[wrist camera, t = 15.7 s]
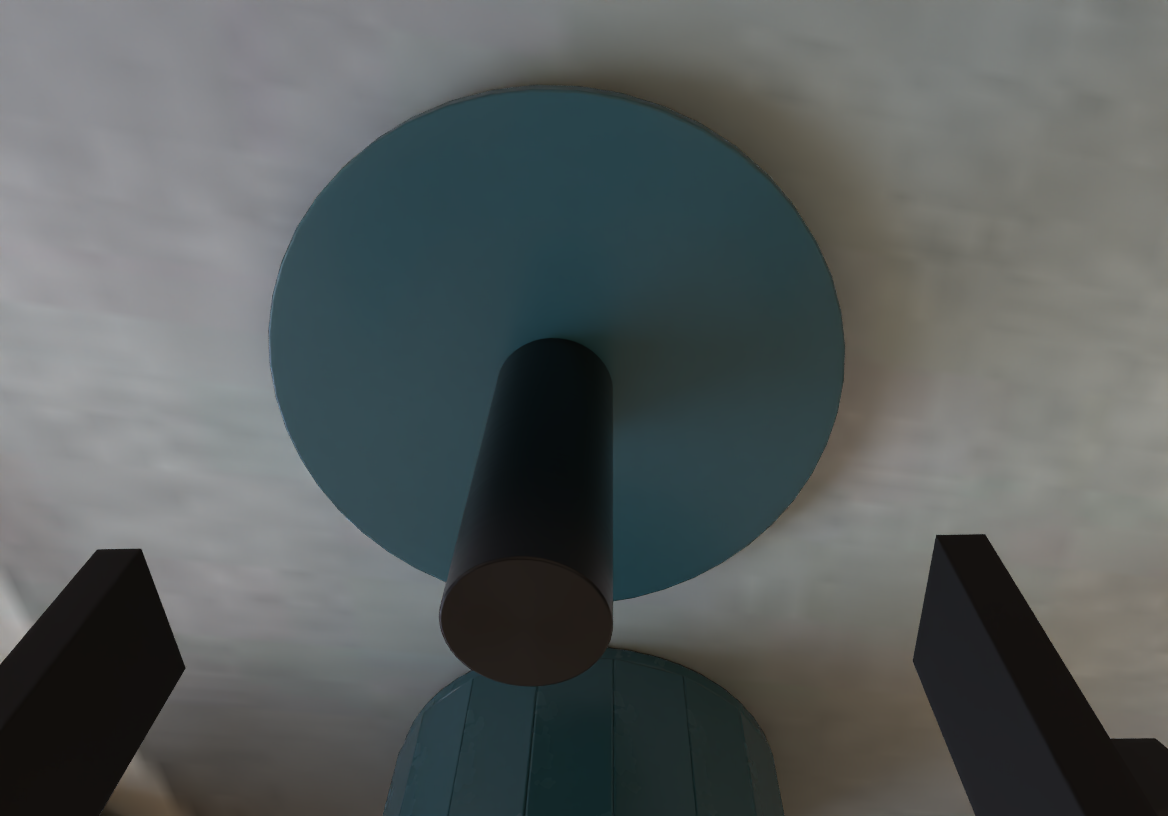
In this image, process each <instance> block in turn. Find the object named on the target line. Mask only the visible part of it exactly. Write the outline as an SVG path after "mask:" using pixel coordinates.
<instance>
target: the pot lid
mask: <svg viewBox="0 0 1168 816" xmlns="http://www.w3.org/2000/svg"><path fill="white" fill-rule="evenodd" d="M269 358H270V368H271V374H272V379H273V385H274V390H275V396H276V400H277V403H278V406H279V409H280V412H281V415H282V418H283V421H284V424H285V427H286V430H287V432H288V434H289V436H290V438H291V440H292V442H293V444H294V446H295V448H296V450H297V452H298V454H299V456H300V458H301V460H302V461H303V463H304V465H305V466H306V468H307V469H308V471H309V472H310V474H311V475H312V477H313V478H314V480H315V481H316V483H317V484H318V486H319V487H320V488H321V489H322V491H323V492H324V493H325V494H326V495H327V497H328V498H329V499H330V500H331V501H332V503H333V504H334V505H335V506H336V507H337V509H338V510H339V511H340V512H341V513H342V514H343V515H345V516H346V517H347V518H348V519H349V520H350V521H351V522H352V523H353V524H354V525H355V526H356V527H357V528H358V529H359V530H360V531H361V532H363V533H364V534H365V535H367V536H368V537H369V538H371V539H372V540H373V541H375V542H376V543H377V544H378V545H380V546H381V547H382V548H384V549H385V550H386V551H388V552H389V553H391V554H393V555H394V556H396V557H398V558H399V559H401V560H403V561H404V562H406V563H408V564H409V565H411V566H413V567H414V568H416V569H418V570H421V571H423V572H425V573H427V574H429V575H431V576H433V577H436V578H438V579H440V580H442V581H444V582H446V586H445V589H444V593H443V597H442V601H441V605H440V612H439V621H440V628H441V631H442V635H443V637H444V639H445V642H446V644H447V645H448V647H449V648H450V650H451V651H452V652H453V654H454V655H455V656H456V657H457V658H458V659H459V660H460V661H461V662H462V663H463V664H464V665H466V666H467V667H469V668H470V669H471V670H473V671H475V672H476V673H478V674H480V675H482V676H484V677H487V678H489V679H491V680H494V681H497V682H500V683H505V684H509V685H516V686H529V687H534V686H546V685H553V684H557V683H561V682H564V681H567V680H569V679H572V678H574V677H576V676H578V675H580V674H582V673H583V672H585V671H586V670H588V669H589V668H591V667H592V666H593V665H594V664H595V663H596V662H597V661H598V660H599V659H600V657H601V656H602V655H603V653H604V652H605V650H606V648H607V647H608V644H609V642H610V639H611V635H612V631H613V601H618V600H623V599H629V598H635V597H638V596H642V595H646V594H649V593H653V592H656V591H660V590H664V589H667V588H669V587H672V586H674V585H677V584H679V583H682V582H684V581H687V580H689V579H692V578H694V577H696V576H698V575H700V574H702V573H704V572H706V571H708V570H710V569H711V568H713V567H715V566H717V565H719V564H721V563H723V562H724V561H726V560H727V559H729V558H730V557H732V556H733V555H734V554H736V553H737V552H739V551H740V550H742V549H743V548H745V547H746V546H748V545H749V544H750V543H751V542H752V541H754V540H755V539H756V538H757V537H758V536H759V535H760V534H762V533H763V532H764V531H765V530H766V529H767V528H769V527H770V526H771V525H772V524H773V523H774V522H775V521H776V520H777V518H778V517H779V516H780V515H781V514H782V513H783V512H784V511H785V510H786V508H787V507H788V506H789V505H790V504H791V503H792V502H793V501H794V499H795V498H796V496H797V495H798V493H799V492H800V491H801V489H802V488H803V486H804V485H805V483H806V482H807V480H808V479H809V477H810V476H811V475H812V473H813V471H814V469H815V467H816V465H817V463H818V461H819V459H820V457H821V455H822V453H823V451H824V449H825V447H826V445H827V442H828V439H829V437H830V434H831V431H832V428H833V425H834V422H835V419H836V416H837V413H838V408H839V403H840V397H841V392H842V387H843V381H844V359H845V342H844V333H843V324H842V315H841V309H840V305H839V302H838V298H837V294H836V290H835V287H834V283H833V279H832V276H831V273H830V271H829V269H828V267H827V264H826V262H825V260H824V257H823V255H822V253H821V251H820V248H819V246H818V244H817V242H816V240H815V238H814V237H813V235H812V234H811V232H810V230H809V229H808V227H807V226H806V224H805V223H804V221H803V219H802V218H801V216H800V215H799V213H798V211H797V210H796V208H795V207H794V205H793V204H792V202H791V201H790V200H789V199H788V198H787V196H786V195H785V194H784V193H783V192H782V191H781V189H780V188H779V187H778V186H777V185H776V184H775V182H774V181H773V180H772V179H771V178H770V177H769V175H768V174H767V173H766V172H765V171H764V170H762V169H761V168H760V167H759V166H758V165H757V164H756V163H754V162H753V161H752V160H751V159H750V158H749V157H748V156H746V155H745V154H744V153H743V152H742V151H741V150H740V149H738V148H737V147H736V146H735V145H733V144H732V143H730V142H728V141H727V140H725V139H724V138H722V137H721V136H719V135H718V134H716V133H715V132H713V131H712V130H710V129H709V128H707V127H705V126H704V125H702V124H701V123H699V122H696V121H694V120H692V119H690V118H688V117H686V116H684V115H681V114H679V113H677V112H675V111H673V110H671V109H669V108H666V107H664V106H662V105H659V104H655V103H652V102H649V101H646V100H642V99H639V98H636V97H633V96H630V95H626V94H623V93H618V92H612V91H606V90H600V89H594V88H588V87H581V86H557V85H531V86H522V87H513V88H505V89H496V90H490V91H486V92H482V93H479V94H475V95H471V96H467V97H463V98H459V99H456V100H452V101H449V102H447V103H444V104H442V105H440V106H437V107H435V108H433V109H430V110H428V111H425V112H423V113H421V114H418V115H416V116H414V117H412V118H410V119H408V120H407V121H405V122H403V123H402V124H400V125H398V126H397V127H395V128H394V129H392V130H390V131H389V132H387V133H385V134H384V135H382V136H380V137H379V138H377V139H376V140H375V141H374V142H373V143H371V144H370V145H369V146H368V147H366V148H365V149H364V150H363V151H362V152H360V153H359V154H358V155H357V156H356V157H354V158H353V159H352V160H351V161H350V162H348V163H347V164H346V165H345V166H344V167H343V168H342V169H341V170H340V171H339V172H338V173H337V175H336V176H335V177H334V178H333V179H332V180H331V181H330V182H329V184H328V185H327V186H326V187H325V188H324V189H323V190H322V191H321V193H320V194H319V195H318V196H317V197H316V199H315V200H314V202H313V203H312V205H311V206H310V208H309V210H308V211H307V213H306V214H305V216H304V217H303V219H302V220H301V222H300V223H299V225H298V227H297V228H296V230H295V233H294V235H293V237H292V239H291V241H290V244H289V246H288V248H287V250H286V253H285V255H284V257H283V259H282V262H281V266H280V269H279V273H278V277H277V280H276V284H275V288H274V291H273V295H272V303H271V312H270V321H269Z"/></svg>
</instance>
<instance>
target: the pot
mask: <svg viewBox="0 0 1168 816" xmlns="http://www.w3.org/2000/svg"><path fill="white" fill-rule="evenodd" d="M383 816H784V812H783V806H782V801H781V796H780V791H779V786H778V780H777V775H776V770H775V765H774V760H773V754H772V752H771V749H770V747H769V744H768V742H767V740H766V737H765V735H764V733H763V731H762V730H761V728H760V727H759V725H758V724H757V722H756V720H755V719H754V717H753V716H752V715H751V714H750V713H749V712H748V711H747V710H746V708H745V707H744V706H743V705H742V704H741V703H740V702H739V701H738V700H737V699H735V698H734V697H733V696H732V695H731V694H729V693H728V692H727V691H726V690H725V689H723V688H722V687H720V686H719V685H717V684H716V683H714V682H712V681H711V680H709V679H708V678H706V677H704V676H703V675H701V674H698V673H696V672H694V671H692V670H690V669H688V668H686V667H684V666H681V665H679V664H676V663H673V662H670V661H667V660H664V659H661V658H658V657H655V656H651V655H646V654H642V653H638V652H634V651H628V650H620V649H613V648H606V650H605V652H604V653H603V655H602V656H601V657H600V659H599V660H598V661H597V662H596V663H595V664H594V665H593V666H592V667H591V668H589V669H588V670H586V671H585V672H583V673H582V674H580V675H578V676H576V677H574V678H572V679H569V680H567V681H564V682H561V683H557V684H553V685H546V686H534V687H529V686H516V685H509V684H505V683H500V682H497V681H494V680H491V679H489V678H487V677H484V676H482V675H480V674H478V673H476V672H475V671H473V670H472V671H471V672H469V673H467V674H465V675H463V676H461V677H459V678H458V679H456V680H455V681H453V682H452V683H451V684H449V685H448V686H446V687H445V688H444V689H442V690H441V691H440V692H439V693H438V694H437V695H436V696H435V697H433V698H432V699H431V700H430V701H429V702H428V703H427V704H426V705H425V707H424V708H423V709H422V711H421V712H420V713H419V715H418V716H417V717H416V719H415V720H414V722H413V724H412V726H411V728H410V730H409V732H408V734H407V736H406V740H405V743H404V745H403V747H402V749H401V750H400V752H399V754H398V758H397V762H396V766H395V770H394V774H393V777H392V781H391V785H390V789H389V793H388V797H387V801H386V805H385V809H384V812H383Z"/></svg>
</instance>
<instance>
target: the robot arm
mask: <svg viewBox="0 0 1168 816" xmlns="http://www.w3.org/2000/svg"><path fill="white" fill-rule="evenodd" d="M913 663H914V666H915V668H916V670H917V673H918V675H919V678H920V680H921V683H922V685H923V688H924V690H925V693H926V695H927V698H928V700H929V703H930V705H931V707H932V710H933V712H934V715H935V717H936V720H937V722H938V725H939V727H940V730H941V732H942V735H943V737H944V739H945V742H946V744H947V747H948V749H949V752H950V754H951V757H952V759H953V762H954V764H955V767H956V769H957V771H958V774H959V776H960V779H961V781H962V784H963V786H964V789H965V791H966V794H967V796H968V799H969V801H970V803H971V806H972V808H973V811H974V813H975V816H1168V749H1167V748H1166V747H1165V746H1164V745H1163V744H1161V743H1160V742H1159V741H1158V740H1157V739H1155V738H1142V739H1110V737H1109V736H1108V734H1107V733H1106V731H1105V729H1104V728H1103V726H1102V724H1101V723H1100V721H1099V719H1098V718H1097V716H1096V715H1095V713H1094V711H1093V710H1092V708H1091V706H1090V705H1089V703H1088V702H1087V700H1086V698H1085V697H1084V695H1083V693H1082V692H1081V690H1080V688H1079V687H1078V685H1077V684H1076V682H1075V680H1074V679H1073V677H1072V675H1071V674H1070V672H1069V670H1068V669H1067V667H1066V666H1065V664H1064V662H1063V661H1062V659H1061V657H1060V656H1059V654H1058V653H1057V651H1056V649H1055V648H1054V646H1053V644H1052V643H1051V641H1050V639H1049V638H1048V636H1047V635H1046V633H1045V631H1044V630H1043V628H1042V626H1041V625H1040V623H1039V621H1038V620H1037V618H1036V617H1035V615H1034V613H1033V612H1032V610H1031V608H1030V607H1029V605H1028V604H1027V602H1026V600H1025V599H1024V597H1023V595H1022V594H1021V592H1020V590H1019V589H1018V587H1017V586H1016V584H1015V582H1014V581H1013V579H1012V577H1011V576H1010V574H1009V572H1008V571H1007V569H1006V568H1005V566H1004V564H1003V563H1002V561H1001V559H1000V558H999V556H998V555H997V553H996V551H995V550H994V548H993V546H992V545H991V543H990V541H989V540H988V538H987V537H986V535H985V534H972V535H936V539H935V545H934V550H933V555H932V561H931V566H930V571H929V577H928V582H927V587H926V593H925V598H924V603H923V609H922V614H921V619H920V625H919V630H918V635H917V641H916V646H915V651H914V657H913ZM184 670H185V665H184V662H183V660H182V657H181V654H180V652H179V649H178V646H177V644H176V641H175V638H174V636H173V633H172V630H171V627H170V625H169V622H168V619H167V617H166V614H165V611H164V609H163V606H162V603H161V601H160V598H159V595H158V592H157V590H156V587H155V584H154V582H153V579H152V576H151V574H150V571H149V568H148V566H147V563H146V560H145V558H144V555H143V552H142V549H98V550H96V552H95V553H94V554H93V555H92V556H91V557H90V559H89V560H88V561H87V562H86V563H85V565H84V566H83V567H82V568H81V569H80V570H79V572H78V573H77V574H76V575H75V576H74V578H73V579H72V580H71V581H70V582H69V584H68V585H67V586H66V587H65V588H64V589H63V591H62V592H61V593H60V594H59V595H58V597H57V598H56V599H55V600H54V601H53V603H52V604H51V605H50V606H49V607H48V608H47V610H46V611H45V612H44V613H43V614H42V616H41V617H40V618H39V619H38V620H37V621H36V623H35V624H34V625H33V626H32V627H31V629H30V630H29V631H28V632H27V633H26V635H25V636H24V637H23V638H22V639H21V640H20V642H19V643H18V644H17V645H16V646H15V648H14V649H13V650H12V651H11V652H10V654H9V655H8V656H7V657H6V658H5V659H4V661H3V662H2V663H1V664H0V816H99V815H100V813H101V811H102V810H103V808H104V806H105V805H106V803H107V801H108V800H109V798H110V796H111V794H112V793H113V791H114V789H115V788H116V786H117V784H118V783H119V781H120V779H121V777H122V776H123V774H124V772H125V771H126V769H127V767H128V765H129V764H130V762H131V760H132V759H133V757H134V755H135V754H136V752H137V750H138V748H139V747H140V745H141V743H142V742H143V740H144V738H145V736H146V735H147V733H148V731H149V730H150V728H151V726H152V725H153V723H154V721H155V719H156V718H157V716H158V714H159V713H160V711H161V709H162V708H163V706H164V704H165V702H166V701H167V699H168V697H169V696H170V694H171V692H172V690H173V689H174V687H175V685H176V684H177V682H178V680H179V679H180V677H181V675H182V673H183V672H184Z"/></svg>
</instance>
